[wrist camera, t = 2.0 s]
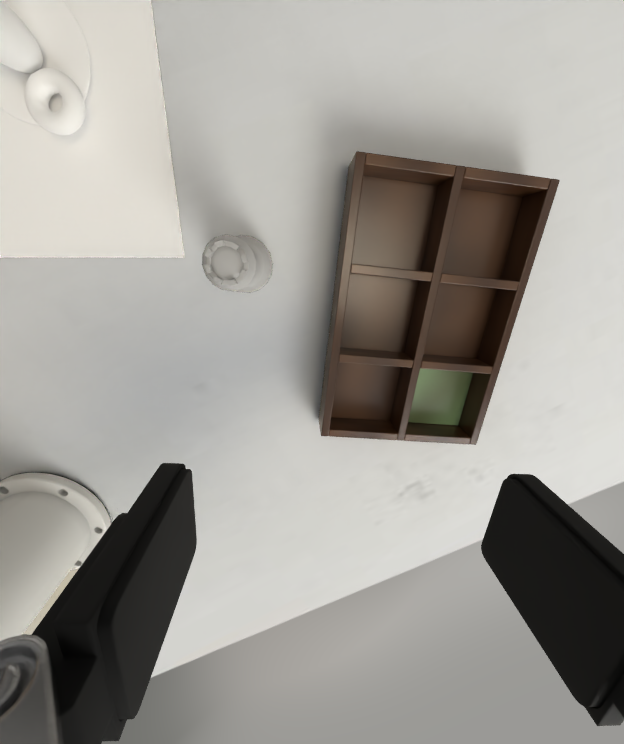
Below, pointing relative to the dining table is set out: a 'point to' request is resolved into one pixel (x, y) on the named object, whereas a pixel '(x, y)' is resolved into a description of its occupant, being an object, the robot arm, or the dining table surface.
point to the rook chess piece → (237, 263)
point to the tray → (426, 295)
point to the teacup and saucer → (84, 133)
